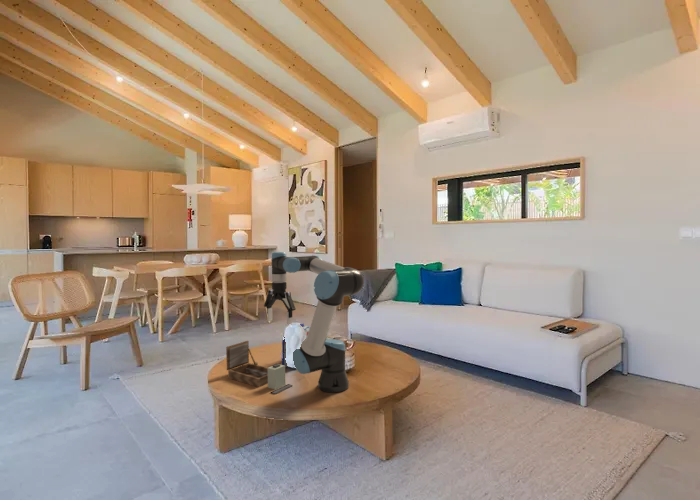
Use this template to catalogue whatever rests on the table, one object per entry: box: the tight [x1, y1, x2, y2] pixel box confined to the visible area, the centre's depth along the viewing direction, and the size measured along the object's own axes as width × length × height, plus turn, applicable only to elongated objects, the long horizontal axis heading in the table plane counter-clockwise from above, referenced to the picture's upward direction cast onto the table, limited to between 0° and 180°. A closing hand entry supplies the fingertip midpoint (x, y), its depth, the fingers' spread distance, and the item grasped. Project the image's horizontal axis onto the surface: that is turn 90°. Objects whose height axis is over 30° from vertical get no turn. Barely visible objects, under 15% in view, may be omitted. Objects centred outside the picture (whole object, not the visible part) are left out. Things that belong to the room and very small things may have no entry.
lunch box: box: [281, 323, 310, 369], centre depth 239 cm, size 28×10×22 cm, turn 168°
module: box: [267, 363, 286, 390], centre depth 203 cm, size 5×7×11 cm
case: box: [225, 340, 268, 388], centre depth 214 cm, size 23×14×17 cm, turn 56°
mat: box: [269, 383, 293, 395], centre depth 203 cm, size 10×12×1 cm
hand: (279, 322), depth 218 cm, fingers open, 13 cm apart
